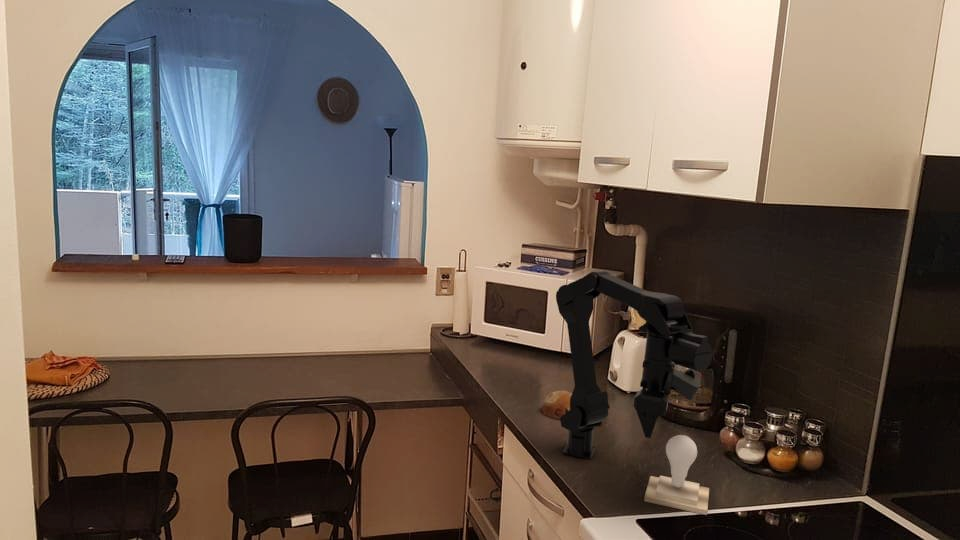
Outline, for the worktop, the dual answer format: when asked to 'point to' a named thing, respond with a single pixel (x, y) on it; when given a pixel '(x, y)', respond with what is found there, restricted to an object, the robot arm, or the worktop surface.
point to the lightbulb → (680, 457)
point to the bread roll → (556, 404)
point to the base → (677, 495)
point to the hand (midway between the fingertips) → (650, 429)
